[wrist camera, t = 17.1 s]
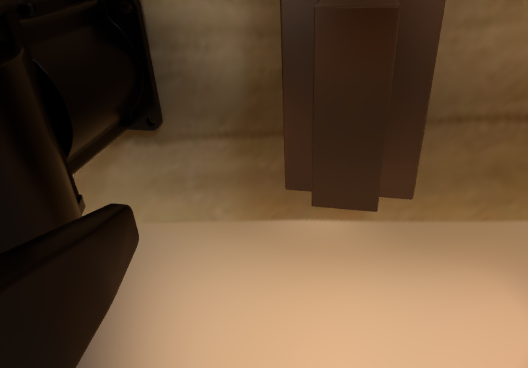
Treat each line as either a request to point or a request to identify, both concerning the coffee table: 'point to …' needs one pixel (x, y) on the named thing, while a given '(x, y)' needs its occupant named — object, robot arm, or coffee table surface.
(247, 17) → the coffee table surface
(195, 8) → the coffee table surface
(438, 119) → the coffee table surface
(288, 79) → the scrub brush
